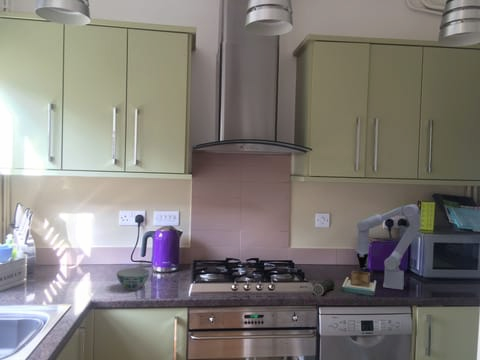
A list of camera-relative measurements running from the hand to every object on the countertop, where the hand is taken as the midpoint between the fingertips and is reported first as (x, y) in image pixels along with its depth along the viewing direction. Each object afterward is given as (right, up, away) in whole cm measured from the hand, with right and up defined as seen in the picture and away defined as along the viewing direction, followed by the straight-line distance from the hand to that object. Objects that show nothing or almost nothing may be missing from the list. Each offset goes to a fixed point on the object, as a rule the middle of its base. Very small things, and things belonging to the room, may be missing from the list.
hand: (362, 267), depth 208 cm
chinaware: (-117, -5, -24) cm, 119 cm away
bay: (-5, -7, -12) cm, 15 cm away
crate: (-4, -6, -8) cm, 11 cm away
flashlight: (-25, -7, -20) cm, 33 cm away
